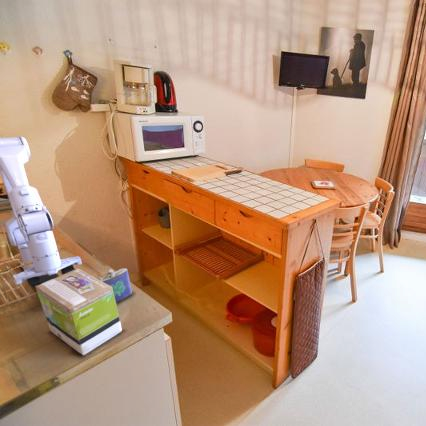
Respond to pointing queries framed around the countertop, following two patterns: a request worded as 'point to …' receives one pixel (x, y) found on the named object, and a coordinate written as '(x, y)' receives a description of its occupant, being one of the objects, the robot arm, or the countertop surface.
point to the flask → (118, 283)
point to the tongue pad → (47, 277)
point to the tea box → (80, 310)
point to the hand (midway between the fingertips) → (56, 293)
